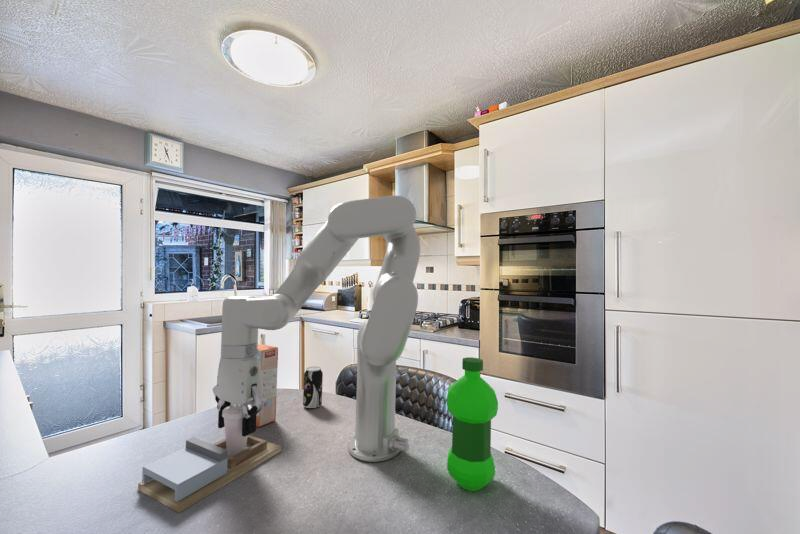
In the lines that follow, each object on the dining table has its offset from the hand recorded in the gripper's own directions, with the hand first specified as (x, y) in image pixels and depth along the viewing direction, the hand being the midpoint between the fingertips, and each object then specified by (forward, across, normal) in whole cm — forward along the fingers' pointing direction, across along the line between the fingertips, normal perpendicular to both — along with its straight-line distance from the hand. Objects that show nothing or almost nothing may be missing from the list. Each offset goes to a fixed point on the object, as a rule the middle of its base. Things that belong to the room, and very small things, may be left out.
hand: (236, 429), depth 75 cm
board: (+7, 0, +4) cm, 8 cm away
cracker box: (+7, +14, -16) cm, 22 cm away
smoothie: (+5, 0, 0) cm, 5 cm away
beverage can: (+7, +5, -31) cm, 32 cm away
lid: (+5, 0, +11) cm, 12 cm away
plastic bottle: (+7, -49, -17) cm, 52 cm away
